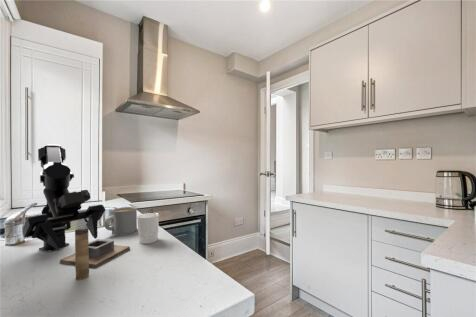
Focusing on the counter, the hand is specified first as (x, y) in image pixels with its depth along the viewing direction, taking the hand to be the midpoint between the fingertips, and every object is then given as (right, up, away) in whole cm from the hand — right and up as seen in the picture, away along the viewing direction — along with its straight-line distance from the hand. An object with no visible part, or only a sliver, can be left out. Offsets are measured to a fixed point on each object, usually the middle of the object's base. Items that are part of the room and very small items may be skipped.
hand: (78, 242), depth 62 cm
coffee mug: (-8, -10, +37) cm, 39 cm away
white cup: (+9, -9, +26) cm, 29 cm away
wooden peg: (+1, -9, -1) cm, 9 cm away
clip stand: (-3, -9, +13) cm, 16 cm away
